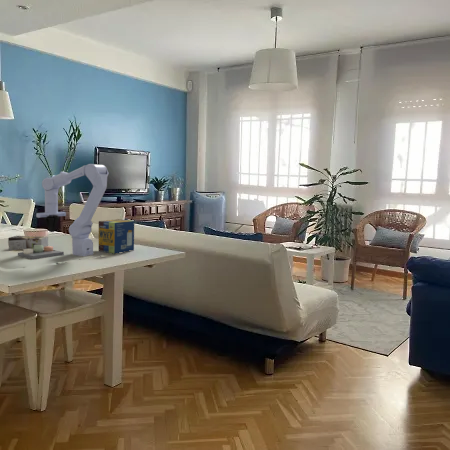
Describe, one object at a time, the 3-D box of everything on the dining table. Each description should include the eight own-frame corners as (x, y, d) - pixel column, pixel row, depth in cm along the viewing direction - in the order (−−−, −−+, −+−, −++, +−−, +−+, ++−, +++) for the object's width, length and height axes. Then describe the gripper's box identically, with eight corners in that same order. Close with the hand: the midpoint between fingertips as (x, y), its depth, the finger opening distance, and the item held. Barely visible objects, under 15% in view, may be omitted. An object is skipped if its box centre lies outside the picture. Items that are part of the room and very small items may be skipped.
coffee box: (41, 238, 220) (7, 237, 220) (41, 251, 221) (8, 250, 221) (48, 236, 229) (16, 235, 229) (48, 248, 230) (16, 247, 230)
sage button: (45, 251, 207) (45, 245, 207) (37, 253, 204) (36, 246, 203) (40, 250, 209) (39, 244, 209) (32, 251, 206) (31, 245, 206)
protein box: (98, 252, 224) (97, 221, 223) (118, 248, 238) (119, 218, 236) (114, 254, 219) (114, 222, 218) (134, 250, 233) (134, 220, 231)
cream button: (35, 255, 203) (34, 249, 203) (26, 257, 200) (26, 250, 199) (30, 254, 205) (29, 248, 205) (21, 255, 202) (21, 249, 202)
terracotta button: (54, 253, 211) (54, 246, 211) (47, 254, 208) (47, 247, 208) (49, 252, 213) (49, 246, 213) (42, 253, 210) (41, 246, 210)
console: (63, 257, 208) (63, 251, 208) (33, 261, 196) (33, 255, 196) (48, 253, 215) (48, 248, 215) (18, 257, 203) (17, 252, 203)
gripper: (59, 202, 222) (60, 229, 224) (32, 203, 211) (32, 232, 212) (68, 203, 218) (68, 231, 220) (41, 204, 207) (41, 233, 208)
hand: (51, 231), depth 216 cm, fingers closed
